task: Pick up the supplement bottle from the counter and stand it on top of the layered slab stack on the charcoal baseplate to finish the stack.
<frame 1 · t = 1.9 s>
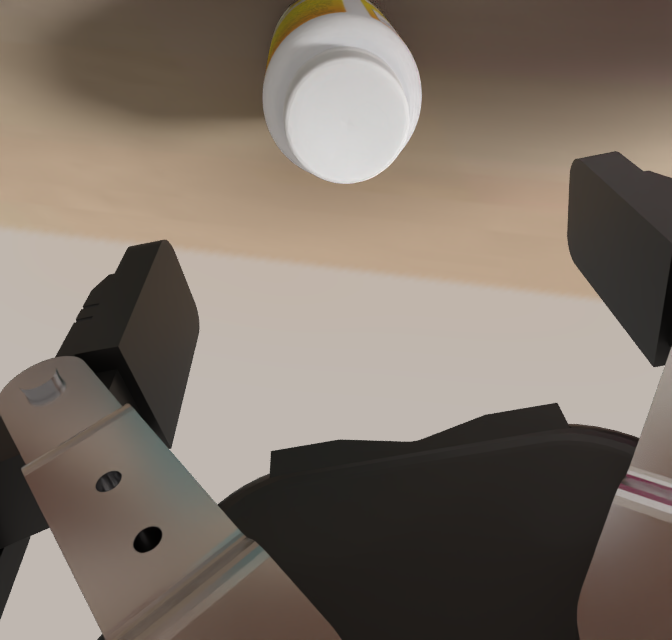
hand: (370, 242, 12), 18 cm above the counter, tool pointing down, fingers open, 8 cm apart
supplement bottle: (332, 54, 27), on the counter
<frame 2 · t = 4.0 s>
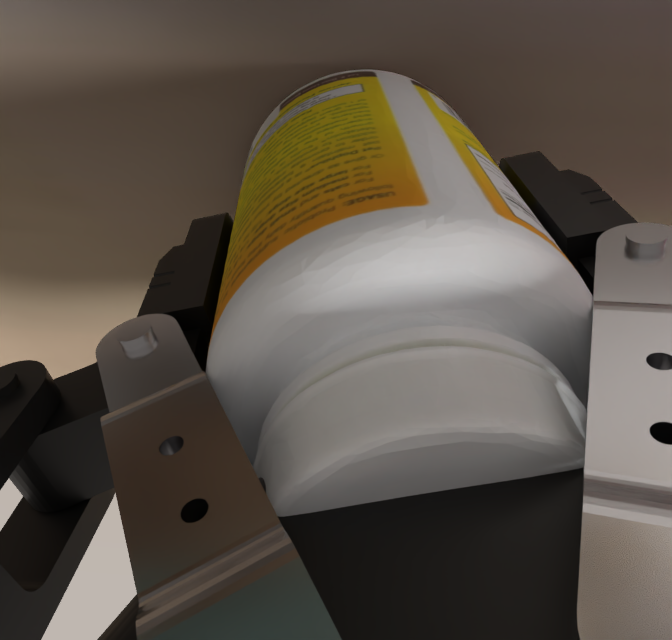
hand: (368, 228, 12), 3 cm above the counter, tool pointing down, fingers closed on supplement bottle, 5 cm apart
supplement bottle: (359, 180, 15), on the counter, touching gripper
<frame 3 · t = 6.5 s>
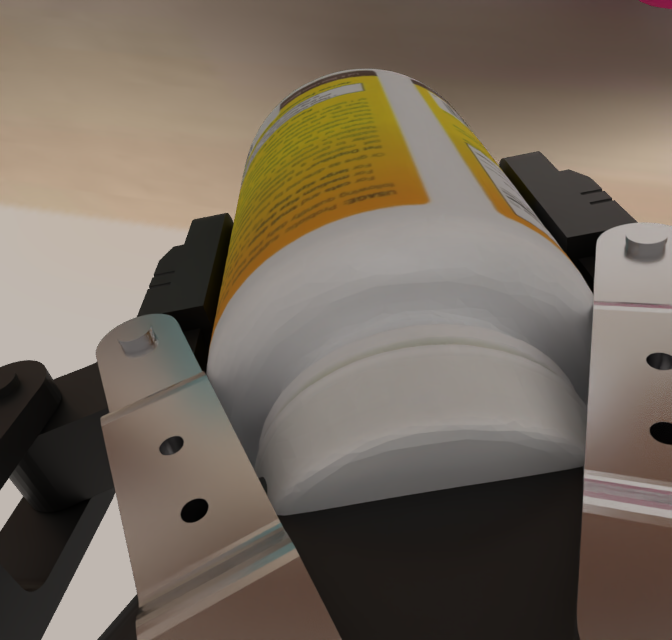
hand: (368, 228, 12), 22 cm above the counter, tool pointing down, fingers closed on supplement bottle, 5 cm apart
supplement bottle: (359, 179, 15), point 19 cm above the counter, touching gripper
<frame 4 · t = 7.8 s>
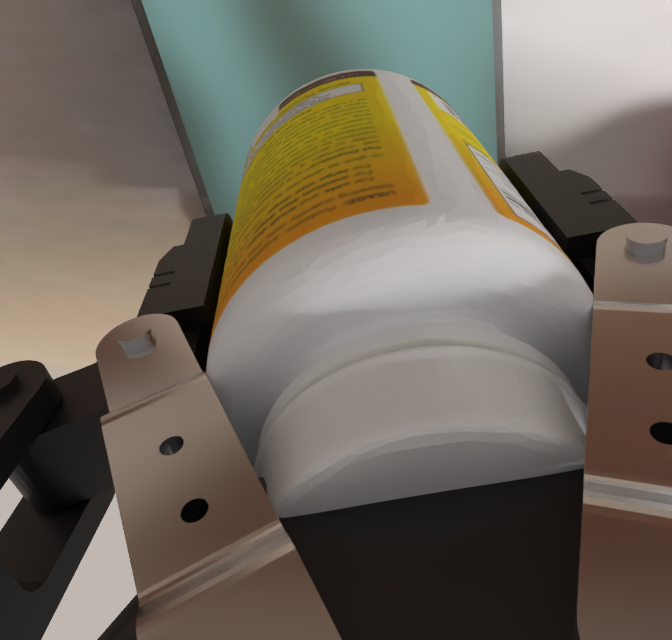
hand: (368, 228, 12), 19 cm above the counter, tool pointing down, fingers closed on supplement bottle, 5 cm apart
layered slab stack: (327, 49, 28), on the counter
supplement bottle: (358, 179, 15), point 17 cm above the counter, touching gripper
when the fingers open (15 cm above the counter, at t = 8.9 s): supplement bottle drops 1 cm, resting on layered slab stack.
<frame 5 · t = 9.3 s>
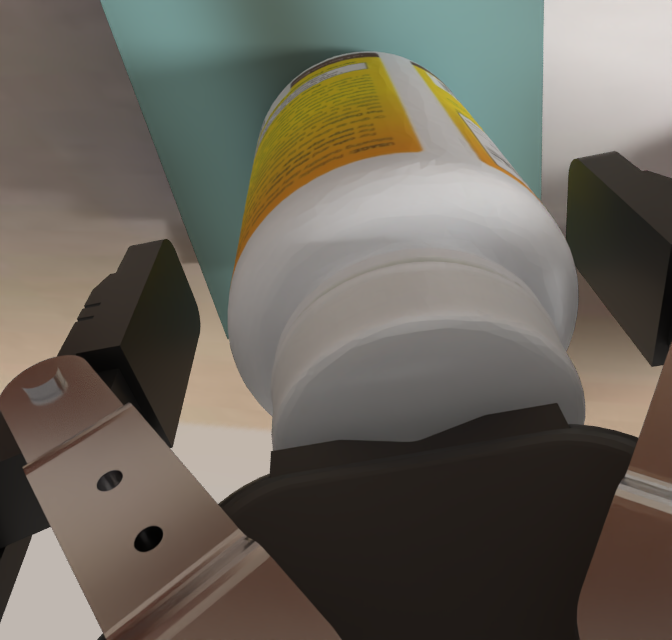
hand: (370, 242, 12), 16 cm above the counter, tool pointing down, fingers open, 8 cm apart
layered slab stack: (334, 66, 25), on the counter
supplement bottle: (361, 156, 16), point 11 cm above the counter, touching layered slab stack
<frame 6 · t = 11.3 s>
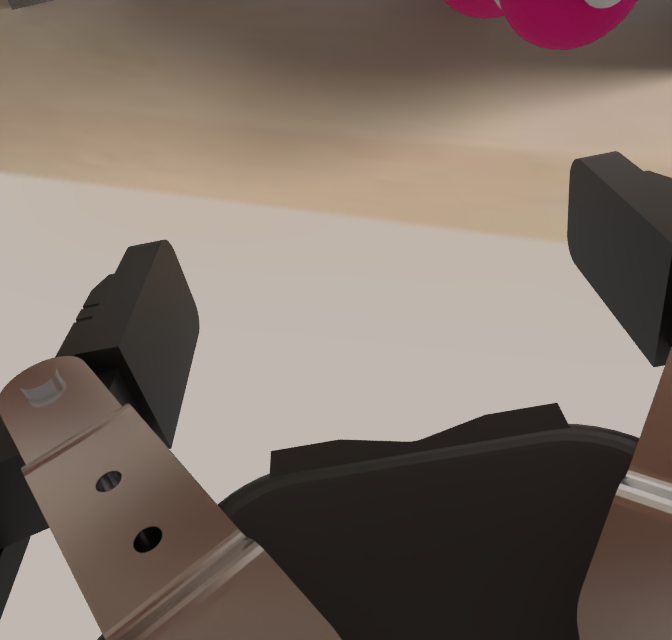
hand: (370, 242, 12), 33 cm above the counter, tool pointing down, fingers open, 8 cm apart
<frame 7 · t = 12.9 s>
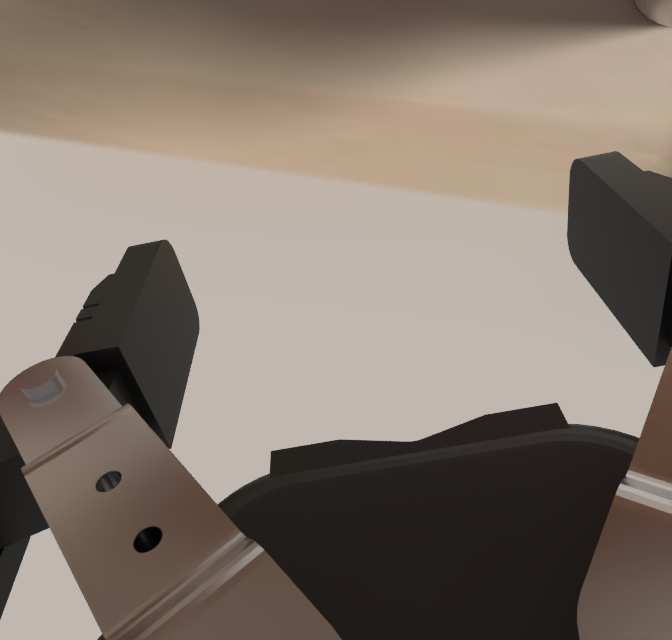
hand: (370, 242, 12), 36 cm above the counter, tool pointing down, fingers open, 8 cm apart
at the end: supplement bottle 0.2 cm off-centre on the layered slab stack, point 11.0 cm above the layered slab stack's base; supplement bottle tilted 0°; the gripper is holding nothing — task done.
